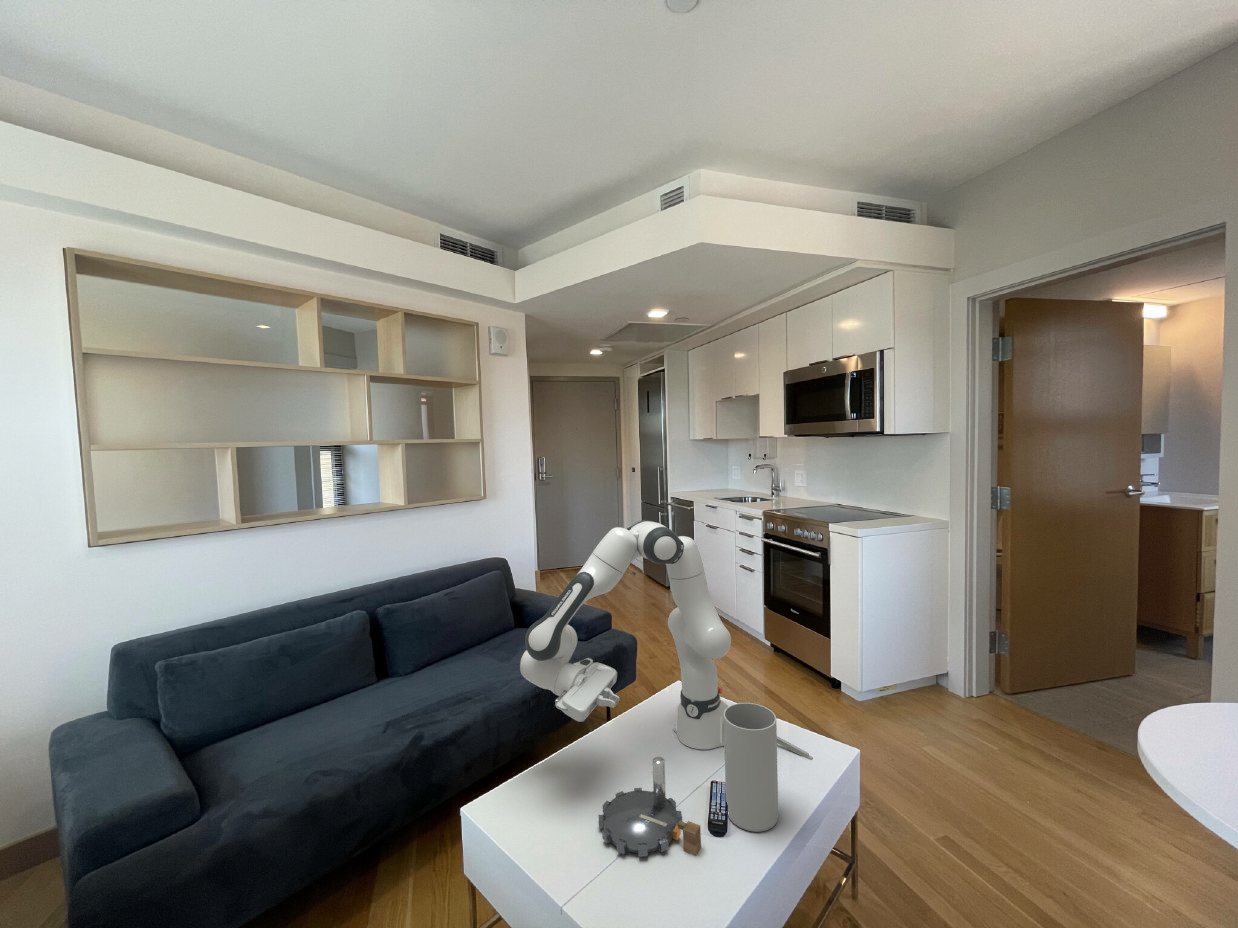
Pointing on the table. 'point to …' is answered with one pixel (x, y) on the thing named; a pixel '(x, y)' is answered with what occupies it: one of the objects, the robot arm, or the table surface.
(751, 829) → the cylinder vase
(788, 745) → the caliper
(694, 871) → the table surface
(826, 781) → the table surface
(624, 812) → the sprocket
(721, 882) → the table surface
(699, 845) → the brown wooden block
